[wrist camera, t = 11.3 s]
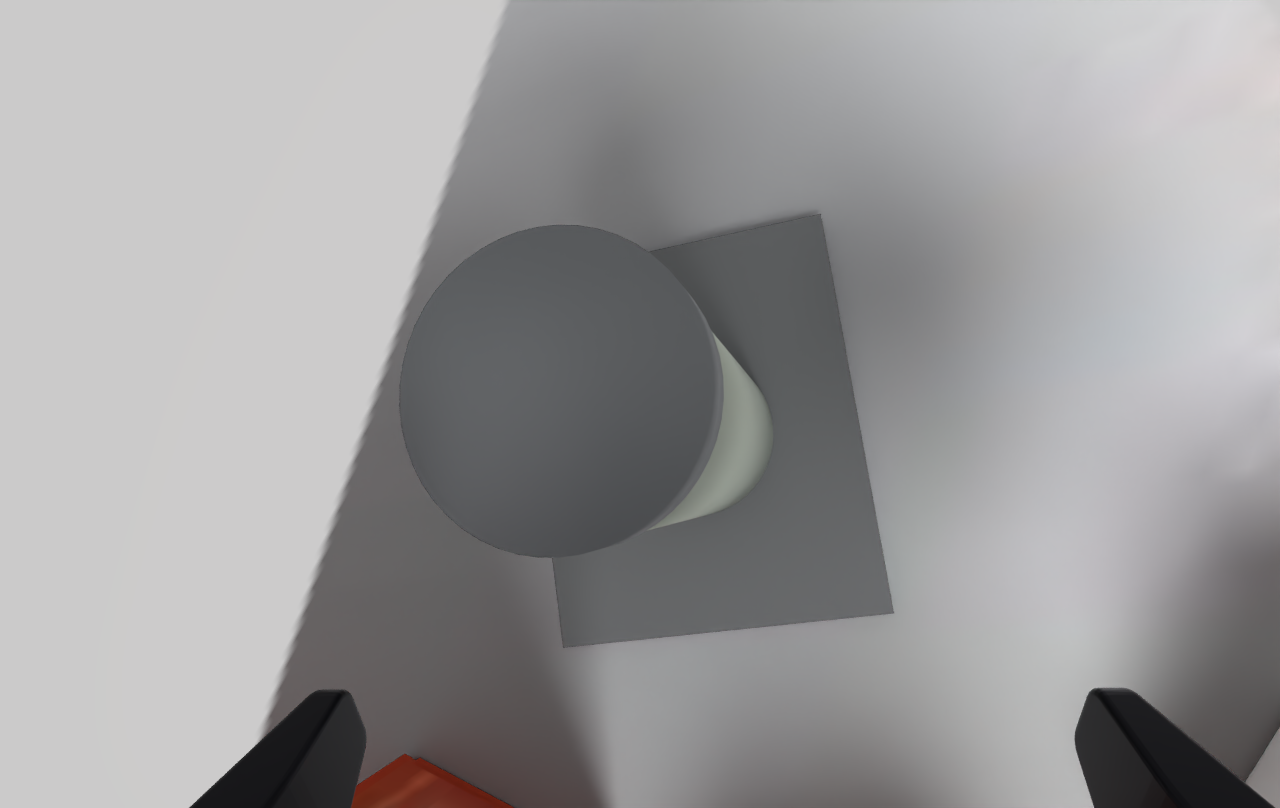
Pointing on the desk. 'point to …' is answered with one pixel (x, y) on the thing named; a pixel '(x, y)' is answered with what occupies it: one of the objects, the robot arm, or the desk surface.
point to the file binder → (419, 788)
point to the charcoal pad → (790, 486)
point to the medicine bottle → (1268, 773)
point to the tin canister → (575, 397)
